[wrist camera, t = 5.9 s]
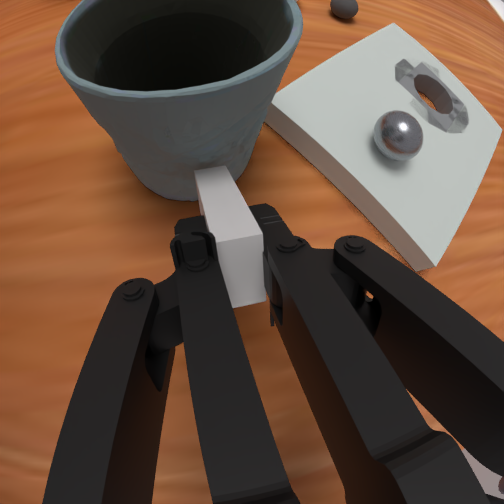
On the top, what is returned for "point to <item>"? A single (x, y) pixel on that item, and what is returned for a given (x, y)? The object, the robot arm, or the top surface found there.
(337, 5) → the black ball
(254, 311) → the top surface
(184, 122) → the grey cup
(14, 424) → the top surface
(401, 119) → the steel ball
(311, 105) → the board
